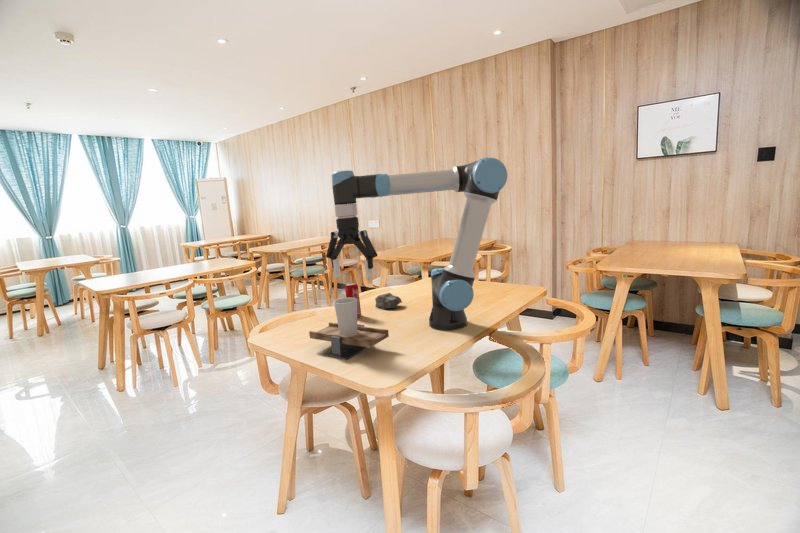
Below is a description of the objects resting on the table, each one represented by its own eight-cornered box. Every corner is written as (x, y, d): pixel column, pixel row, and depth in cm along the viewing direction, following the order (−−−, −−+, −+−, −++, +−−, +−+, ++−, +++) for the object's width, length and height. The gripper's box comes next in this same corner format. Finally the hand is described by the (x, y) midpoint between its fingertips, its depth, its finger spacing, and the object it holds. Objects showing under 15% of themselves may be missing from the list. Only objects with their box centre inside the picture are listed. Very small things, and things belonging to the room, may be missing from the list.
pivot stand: (374, 343, 146) (373, 325, 144) (346, 360, 132) (345, 340, 131) (352, 339, 151) (350, 322, 150) (323, 355, 137) (321, 336, 136)
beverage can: (356, 319, 177) (353, 285, 174) (344, 317, 180) (341, 284, 178) (364, 315, 182) (361, 282, 179) (352, 313, 185) (350, 281, 183)
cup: (356, 337, 136) (352, 303, 134) (333, 337, 137) (330, 303, 135) (362, 330, 143) (359, 297, 142) (341, 330, 145) (338, 297, 143)
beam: (388, 336, 139) (388, 329, 138) (370, 347, 129) (369, 340, 129) (330, 328, 152) (330, 322, 152) (309, 338, 143) (309, 331, 142)
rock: (404, 305, 194) (403, 292, 193) (399, 310, 186) (398, 297, 185) (378, 305, 198) (377, 292, 197) (372, 310, 190) (370, 296, 189)
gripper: (383, 214, 136) (389, 276, 139) (325, 217, 148) (331, 274, 151) (371, 216, 129) (377, 280, 133) (311, 219, 141) (318, 278, 145)
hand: (353, 277), depth 142 cm, fingers open, 13 cm apart
